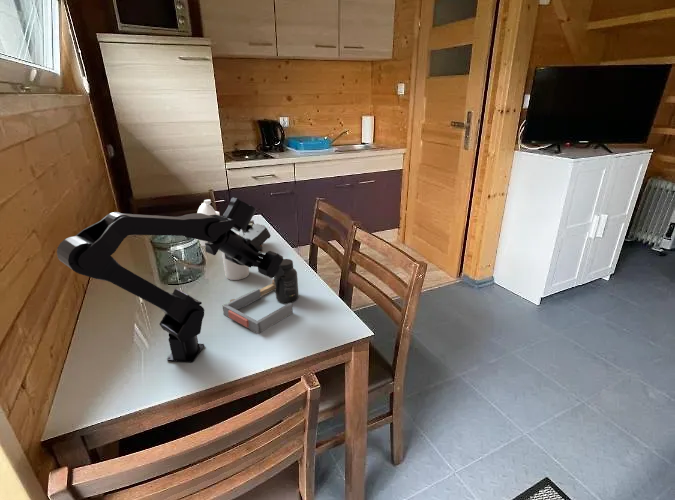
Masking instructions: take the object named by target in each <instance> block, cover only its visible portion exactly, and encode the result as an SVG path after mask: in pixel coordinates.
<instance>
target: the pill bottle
mask: <svg viewBox="0 0 675 500" xmlns="http://www.w3.org/2000/svg"><path fill="white" fill-rule="evenodd" d="M234 232H235V233H237V234H238V235H240V236H241V234H240V232H239V231H234ZM221 256H222V261H223V269H224V274H225V278H226V279H228V280H231V281H238V280H239V281H240V280H242V279H245V278H247V277H248V276H249V275H250V270H249V269H250V267H248V266H244V265H238V264H236V263H233V262H231V261H229V260H227V259H225V253H223V252H221Z"/></svg>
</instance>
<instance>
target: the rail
mask: <svg viewBox="0 0 675 500" xmlns="http://www.w3.org/2000/svg"><path fill="white" fill-rule="evenodd" d="M259 289H260V296H261V297H262V296H264V295H266V294H269V293H271V292H273V291H275V282H274V278H272V280H271V283H270V284H268V285H266V286H264V287H262V288H259ZM235 299H236V298H233V299H230V300H229V302H230V301H232V300H235Z"/></svg>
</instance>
